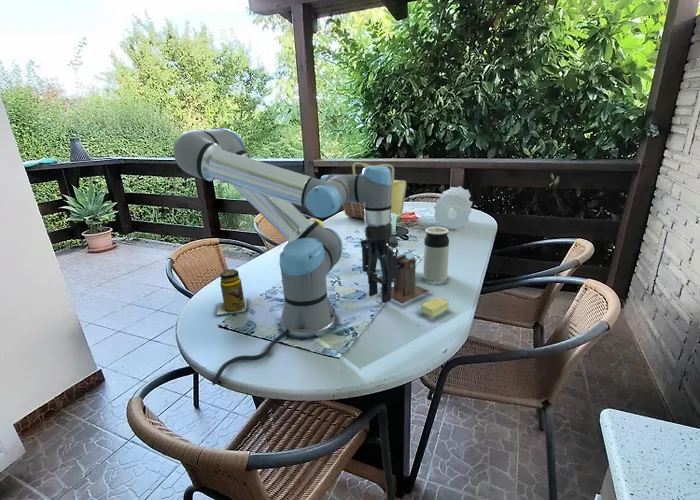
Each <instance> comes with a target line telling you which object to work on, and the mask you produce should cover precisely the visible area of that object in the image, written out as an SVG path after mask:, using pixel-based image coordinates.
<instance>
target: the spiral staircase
mask: <svg viewBox="0 0 700 500" xmlns="http://www.w3.org/2000/svg"><path fill="white" fill-rule="evenodd" d="M471 196H472V195H471V192H470V191H469V189H465V188H463V187H462V186H461V185H459V186H458V187H455V186H450V187H449V189H446V190H444V191H442V193H441V195H440V196H439V198H438V200H437V201H436V202H435V206H433V209H434V215H433V217H434V218H435V222H436V223H438V224H439V225H440V226H441V227H443V228H447V229H451V230H454V229H459V228H463V227H464V225H465V224H466V223H468V222H469V221H470V215H471V213H472V211H473V210H472V205H473V203H474V202H473V201H471V200H470V198H471Z"/></svg>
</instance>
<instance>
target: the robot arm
mask: <svg viewBox="0 0 700 500" xmlns="http://www.w3.org/2000/svg"><path fill="white" fill-rule="evenodd" d="M245 146H246V145H245V142H244V140H243V138H241V136H240V135H239V134H238V133H237V132H235V131H233V130H231V129H229V128H223V127H214V128H210V129H192V130H188V131H185V132H183V133H181V135H179V136H178V137H177V139H176V140H175V142H174V144H173V157H174V161H175V163H176V164H177V165H178V167H179V168H180V169H181V170H182V171H183V172H185V173H186V174H188V175H191V176H193V177H195V178H198V179H202V180H205V181H208V182H213V181H215V180H218V181H219V182H220V183H222V184H229V185H230V186H232V188H233V189H235V190H236V191H237V192H238V193H239V194H240V195H241V196H242V197H243V198H244V199H245V200H246V201H247V202H248V203H249V204H250V205H251V206H252V207H253V208H254V209H255V210H256V211H257V212H258V213H259V214H260V215H261V216H263V218H265V219H266V221H268V223H270V224H271V225H272V226H273V227H274V229H276V230H277V231H278V232H279V233H280V234H281V235H282V236H283V237H284V238H285V239H286V240H287V243H285V244H284V245H282V247H281V248H280V251H279V262H278V263H279V268H280V274H281V282H282V283H281V284H282V290H283V299H284V303H283V307H282V312H281V316H280V320H279V321H280V328H281V329H280V330H281V331H282V332H281V333H280V334H279V335H278V336H276V337H275V338H274V339H273V340H272V341H271V342H270V343H269V344H268V346H267V347H266V349H265V350H264V351H263V352H262V353H259V354H257V355H256V354H255V355H237V356H235V357H233V358H231V359H229V360H227V361H226V362H224V363H223V364H222V365H221V366H220V367H219V369H218V371H217V372H216V374H215V376H214V378H213V381H212V383H211V385H212V386H215V385H217V384H218V382H219V380H220V378H221V375H222V374H223V372H224V370H225V369H226V368H228V366H230V365H232V364H234V363H237V362H239V361H256V360H260V359H263V358H265V357H266V356H268V355H269V353H270V351H271V350H272V348H273V347H274V346H275V345H276V344H277V343H278V342H279V341H280V340H281V339H283V338H284V337H286V336H289V337H291V338H295V339H312V338H317V337H318V335H317V334H319V333H322V332H324V331H327V330H328V329H329V328H331V327H332V326H333V325H334V323H335V322H336V309H335V308H334V307H333V305H332V304H331V302H330V299H329V297H328V290H327V287H328V286H327V276H328V274H329V273H330V272H331V271H332V270H333V268H334V267H335V265H337V264H338V263H339V261H340V259H341V257H342V254H343V250H344V246H343V245H344V244H343V240H342V239H341V236H340V235H339V233H338V232H336V231H335V230H334V229H332V228H330V227H326V226H325V227H322V226H321V225H320V224H319V223H318V222H317V221H316V220H308V218H307V217H306V216H305V215H304V214H303V213H302V212H301V211H300V210H299V208H297V207H296V206H295V205H297V206H300V207H302V208H307V210H308V211H309V213H311V214H312V215H313V216H314V217H315V218H316V217H317V218H328V217H330V216H331V215H334V214H335V213H337V212H338V211H339V210H340V208H342V207H343V205H344V204H345V203H346V202H364V219H363V222H364V236H365V238H364V239H361V240H360V245H361V257H362V258H361V264H362V266H361V267H362V271H363V272H365V273H366V275H367V284H368V296H369V297H373V296H376V295H378V291H379V289H378V282H376V281H374V280H372V279H371V277H372V276H373V275H374V276H376V277H378V274H377V272H378V270H377V269H376V265H377V259H378V260H380V265H381V270H380V271H381V275H383V280H384V281H383V282H382V284H381V291H382V293H381V302H382V303H383V304H385V303H388V302H390V301H391V299H392V298H391V291H392V287H393V285H392V283H394V281H397V254H398V255H399V248H398V249H397V248H396V249H394V248H392V247H391V244H390V237H391V236H392V235H393V229H392V228H393V224H392V221H393V220H392V218H391V186H392V183H391V175H392V171H391V168H390V167H389V166H376V165H372V166H368V167H363V168H362V172H361V173H360V174H355V175H353V174H336V173H331V174H324V175H322V176H321V177H320V179H319V178H315V177H312V176H310V175H306V174H303V173H299V172H295V171H293V170H289V169H287V168H283V167H280V166H276V165H273V164H271V163H267V162H265V161H264V162H263V161H261V160H258V159H257V160H256V159H254V158H251V155H250V154H249V153H248V152H247V149H246V147H245ZM383 255H385V256H383Z"/></svg>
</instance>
